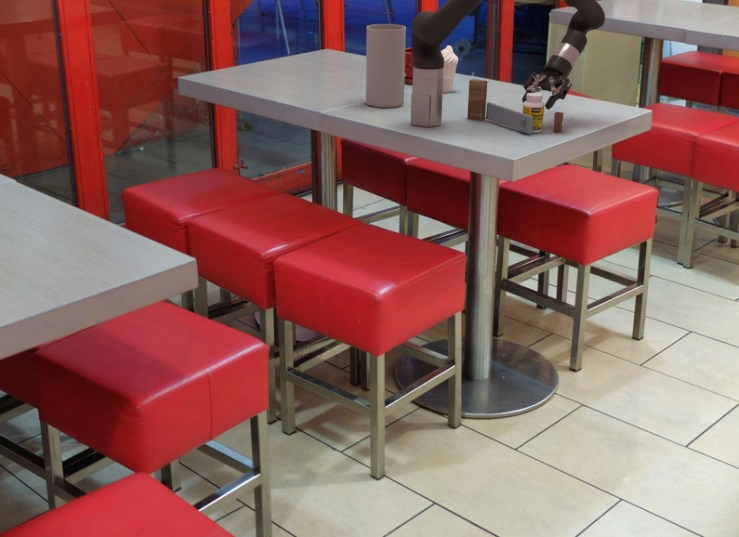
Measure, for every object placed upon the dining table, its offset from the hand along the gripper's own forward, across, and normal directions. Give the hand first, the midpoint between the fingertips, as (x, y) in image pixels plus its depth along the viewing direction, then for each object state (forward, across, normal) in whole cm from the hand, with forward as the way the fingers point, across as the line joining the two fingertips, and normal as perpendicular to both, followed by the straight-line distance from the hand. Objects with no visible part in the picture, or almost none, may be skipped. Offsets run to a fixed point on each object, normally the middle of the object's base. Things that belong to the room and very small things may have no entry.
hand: (535, 105), depth 295 cm
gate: (+8, -7, +2) cm, 11 cm away
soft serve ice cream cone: (-8, -54, +19) cm, 58 cm away
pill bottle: (+6, 0, +4) cm, 8 cm away
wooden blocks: (+5, -8, +6) cm, 11 cm away
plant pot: (-11, -71, +22) cm, 75 cm away
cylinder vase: (+13, -54, -2) cm, 55 cm away
